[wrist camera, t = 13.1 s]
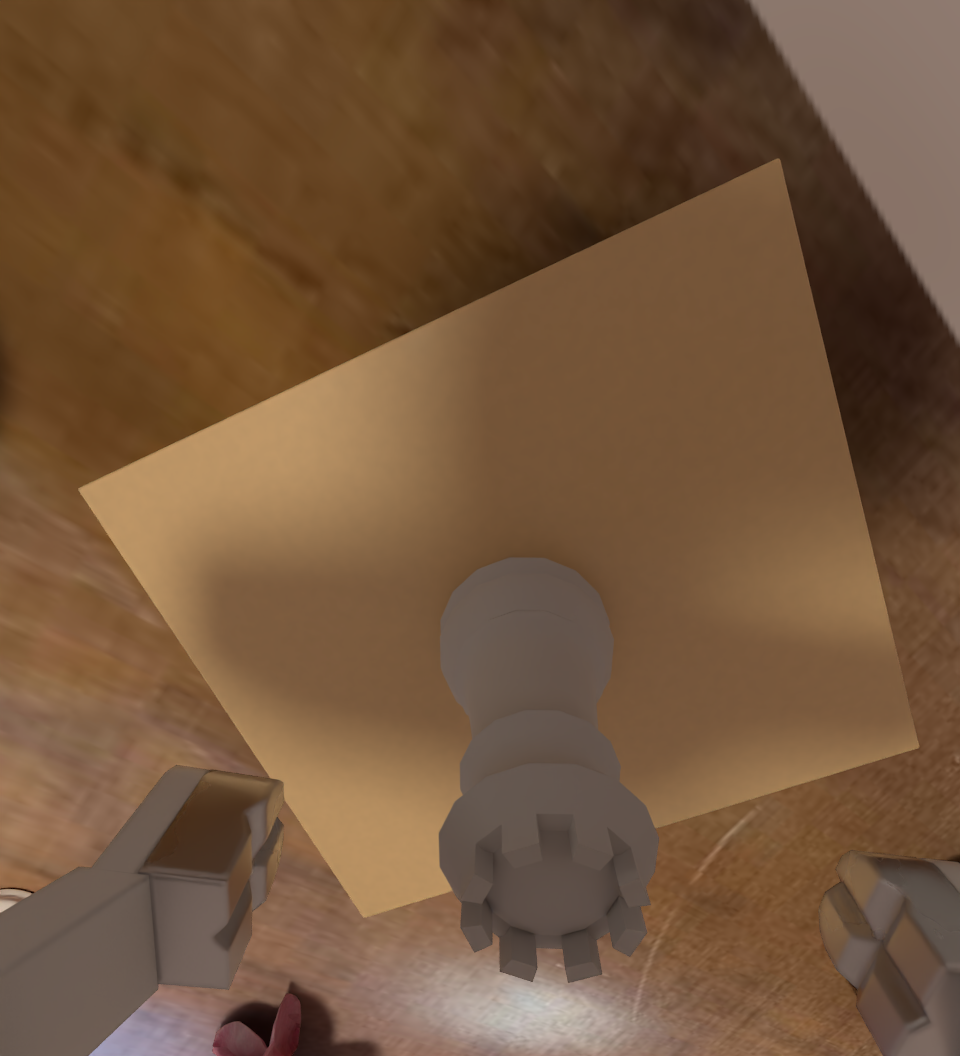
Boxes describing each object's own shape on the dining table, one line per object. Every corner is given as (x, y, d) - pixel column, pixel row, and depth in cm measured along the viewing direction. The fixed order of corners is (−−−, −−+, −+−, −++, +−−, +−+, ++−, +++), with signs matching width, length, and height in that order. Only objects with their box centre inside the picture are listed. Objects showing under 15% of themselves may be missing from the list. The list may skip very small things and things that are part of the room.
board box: (655, 241, 20) (780, 156, 11) (768, 606, 24) (920, 748, 16) (237, 436, 23) (75, 489, 14) (405, 735, 27) (363, 918, 18)
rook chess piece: (615, 685, 15) (736, 1013, 8) (459, 708, 16) (426, 1045, 8) (594, 535, 14) (715, 753, 6) (424, 565, 14) (345, 805, 7)
